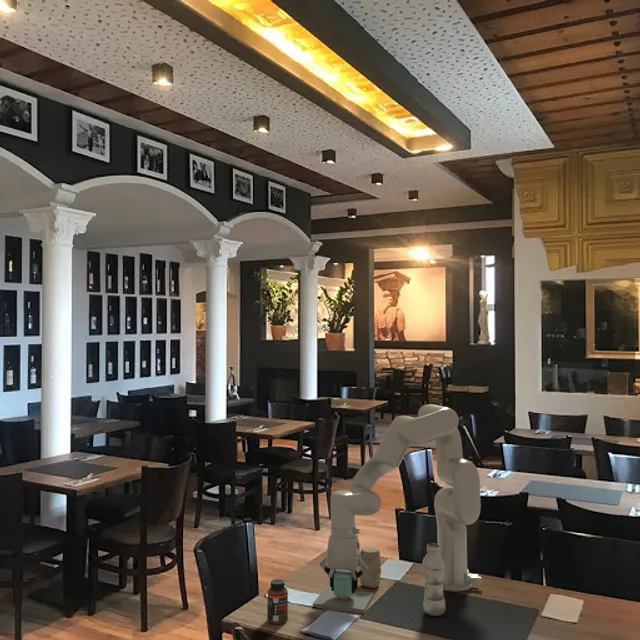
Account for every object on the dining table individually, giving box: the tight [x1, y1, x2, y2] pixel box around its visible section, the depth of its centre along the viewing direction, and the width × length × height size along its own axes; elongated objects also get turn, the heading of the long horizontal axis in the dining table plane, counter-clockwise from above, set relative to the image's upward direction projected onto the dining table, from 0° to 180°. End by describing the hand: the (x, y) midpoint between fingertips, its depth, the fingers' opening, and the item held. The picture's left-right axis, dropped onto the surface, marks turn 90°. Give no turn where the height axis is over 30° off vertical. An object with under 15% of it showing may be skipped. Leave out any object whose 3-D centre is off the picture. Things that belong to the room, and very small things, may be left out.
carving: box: [358, 546, 382, 588], centre depth 210 cm, size 6×8×12 cm
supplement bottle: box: [266, 578, 289, 626], centre depth 185 cm, size 6×6×11 cm
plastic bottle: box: [422, 543, 447, 617], centre depth 188 cm, size 6×7×20 cm
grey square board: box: [312, 587, 375, 614], centre depth 197 cm, size 16×13×6 cm
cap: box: [333, 569, 354, 598], centre depth 198 cm, size 6×6×6 cm
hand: (343, 589), depth 198 cm, fingers closed on cap, 5 cm apart
